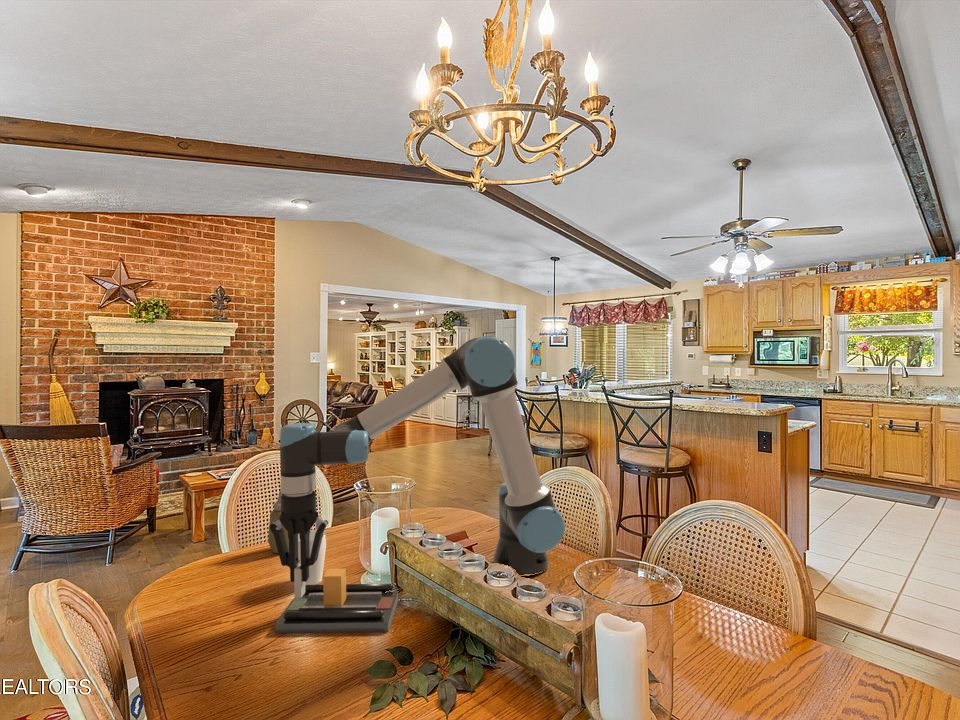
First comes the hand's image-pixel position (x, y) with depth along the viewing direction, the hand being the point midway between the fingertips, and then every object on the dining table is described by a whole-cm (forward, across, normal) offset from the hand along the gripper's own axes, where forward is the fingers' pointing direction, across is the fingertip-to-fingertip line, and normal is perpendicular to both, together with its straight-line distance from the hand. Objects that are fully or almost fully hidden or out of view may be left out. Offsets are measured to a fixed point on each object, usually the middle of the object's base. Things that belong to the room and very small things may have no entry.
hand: (300, 594), depth 113 cm
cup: (+5, +4, -16) cm, 17 cm away
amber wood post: (+2, -8, 0) cm, 8 cm away
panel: (+4, -10, 0) cm, 10 cm away
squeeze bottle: (+5, +18, -37) cm, 42 cm away
